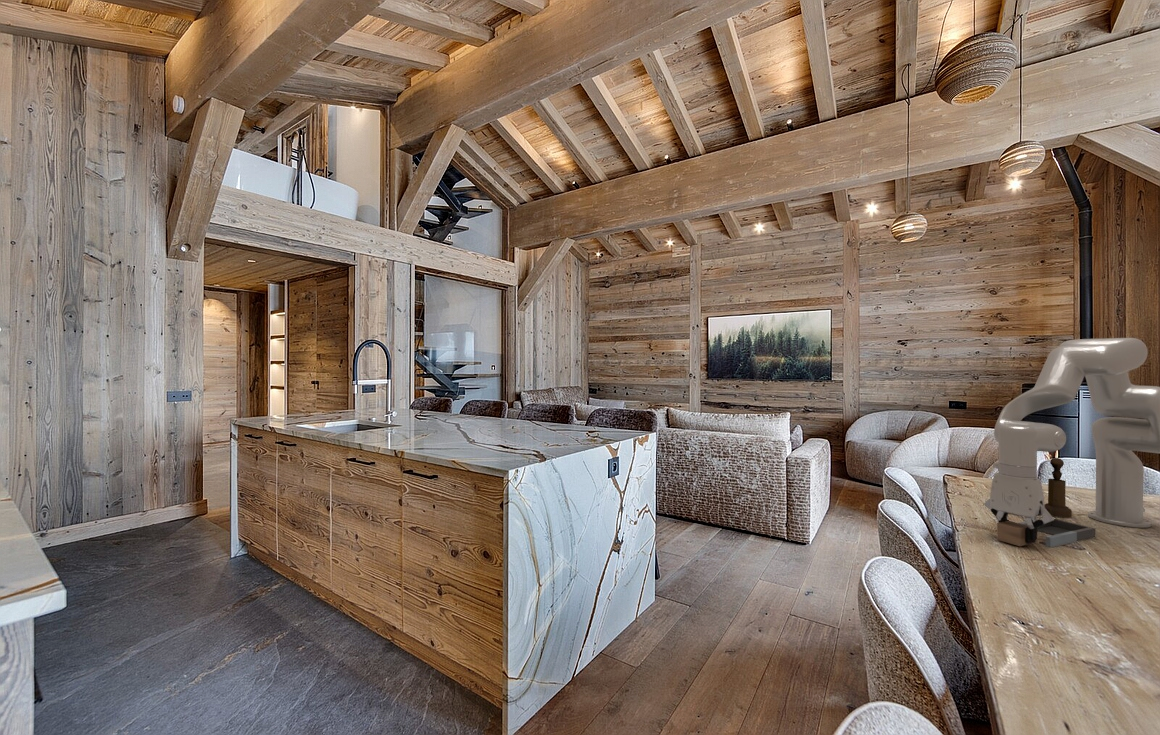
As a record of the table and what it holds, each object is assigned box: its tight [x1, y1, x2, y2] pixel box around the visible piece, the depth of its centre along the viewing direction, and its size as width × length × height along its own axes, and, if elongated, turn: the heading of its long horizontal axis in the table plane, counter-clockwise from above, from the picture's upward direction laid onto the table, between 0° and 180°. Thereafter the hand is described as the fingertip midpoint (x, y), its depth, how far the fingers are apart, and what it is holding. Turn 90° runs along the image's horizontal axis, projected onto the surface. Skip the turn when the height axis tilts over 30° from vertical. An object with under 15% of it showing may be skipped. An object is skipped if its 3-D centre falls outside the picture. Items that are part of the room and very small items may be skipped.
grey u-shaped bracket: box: [1019, 517, 1097, 549], centre depth 130 cm, size 21×10×2 cm, turn 110°
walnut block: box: [996, 520, 1033, 547], centre depth 124 cm, size 5×5×4 cm
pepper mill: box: [1044, 457, 1073, 519], centre depth 148 cm, size 7×6×18 cm
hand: (1017, 537), depth 125 cm, fingers closed on walnut block, 5 cm apart
